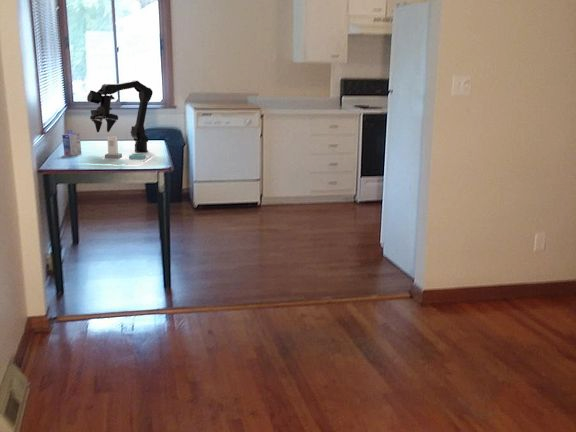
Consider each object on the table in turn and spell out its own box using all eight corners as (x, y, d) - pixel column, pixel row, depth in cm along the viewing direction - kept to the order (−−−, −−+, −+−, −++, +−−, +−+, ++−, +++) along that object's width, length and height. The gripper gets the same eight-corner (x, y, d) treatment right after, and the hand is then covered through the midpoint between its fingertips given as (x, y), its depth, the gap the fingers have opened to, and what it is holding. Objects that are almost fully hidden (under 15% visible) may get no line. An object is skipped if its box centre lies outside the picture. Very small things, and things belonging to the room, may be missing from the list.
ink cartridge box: (74, 153, 370) (72, 128, 367) (81, 153, 369) (80, 129, 365) (63, 155, 361) (61, 130, 358) (71, 156, 360) (69, 131, 356)
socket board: (101, 160, 345) (100, 155, 345) (108, 157, 357) (108, 152, 356) (143, 161, 344) (143, 156, 344) (149, 158, 356) (149, 153, 355)
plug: (110, 156, 353) (109, 136, 350) (118, 157, 352) (117, 136, 350) (108, 158, 348) (106, 137, 345) (115, 158, 348) (114, 137, 345)
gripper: (83, 103, 358) (81, 130, 358) (104, 101, 348) (101, 129, 347) (99, 107, 368) (97, 133, 367) (119, 105, 357) (117, 132, 356)
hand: (102, 132), depth 359 cm, fingers open, 9 cm apart
